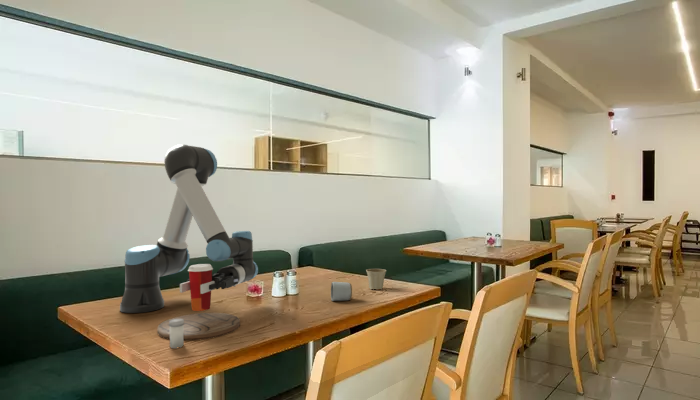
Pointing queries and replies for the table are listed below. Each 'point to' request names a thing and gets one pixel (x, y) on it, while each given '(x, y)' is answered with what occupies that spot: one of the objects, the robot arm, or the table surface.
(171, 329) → the salt shaker
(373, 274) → the flower pot
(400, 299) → the table surface
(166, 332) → the trivet
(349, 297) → the ceramic mug
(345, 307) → the table surface
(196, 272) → the paper cup
